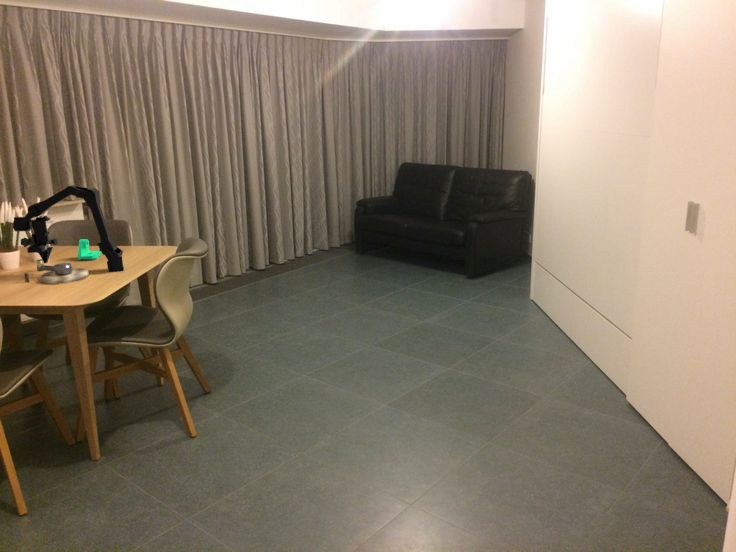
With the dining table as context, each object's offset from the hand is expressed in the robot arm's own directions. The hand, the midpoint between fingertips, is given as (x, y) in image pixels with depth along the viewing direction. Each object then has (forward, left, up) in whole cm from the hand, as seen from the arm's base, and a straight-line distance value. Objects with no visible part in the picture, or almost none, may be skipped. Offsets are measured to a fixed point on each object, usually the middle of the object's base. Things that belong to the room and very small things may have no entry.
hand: (45, 263), depth 268 cm
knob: (-4, +10, -3) cm, 11 cm away
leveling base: (-5, +13, -5) cm, 15 cm away
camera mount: (-18, -25, -5) cm, 31 cm away
